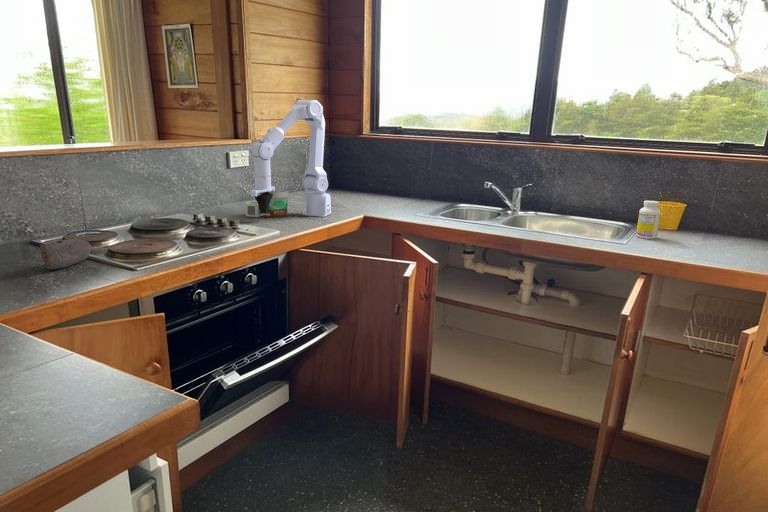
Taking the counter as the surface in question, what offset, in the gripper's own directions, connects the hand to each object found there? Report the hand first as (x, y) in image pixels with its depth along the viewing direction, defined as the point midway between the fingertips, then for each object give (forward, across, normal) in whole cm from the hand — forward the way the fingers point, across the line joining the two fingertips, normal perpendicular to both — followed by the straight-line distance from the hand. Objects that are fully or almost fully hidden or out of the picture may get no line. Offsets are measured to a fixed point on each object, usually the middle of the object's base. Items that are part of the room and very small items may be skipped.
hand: (264, 213), depth 194 cm
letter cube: (+3, -9, -9) cm, 13 cm away
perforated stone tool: (+3, +69, -19) cm, 72 cm away
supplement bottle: (+3, -27, +135) cm, 138 cm away
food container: (+3, -10, +1) cm, 11 cm away
